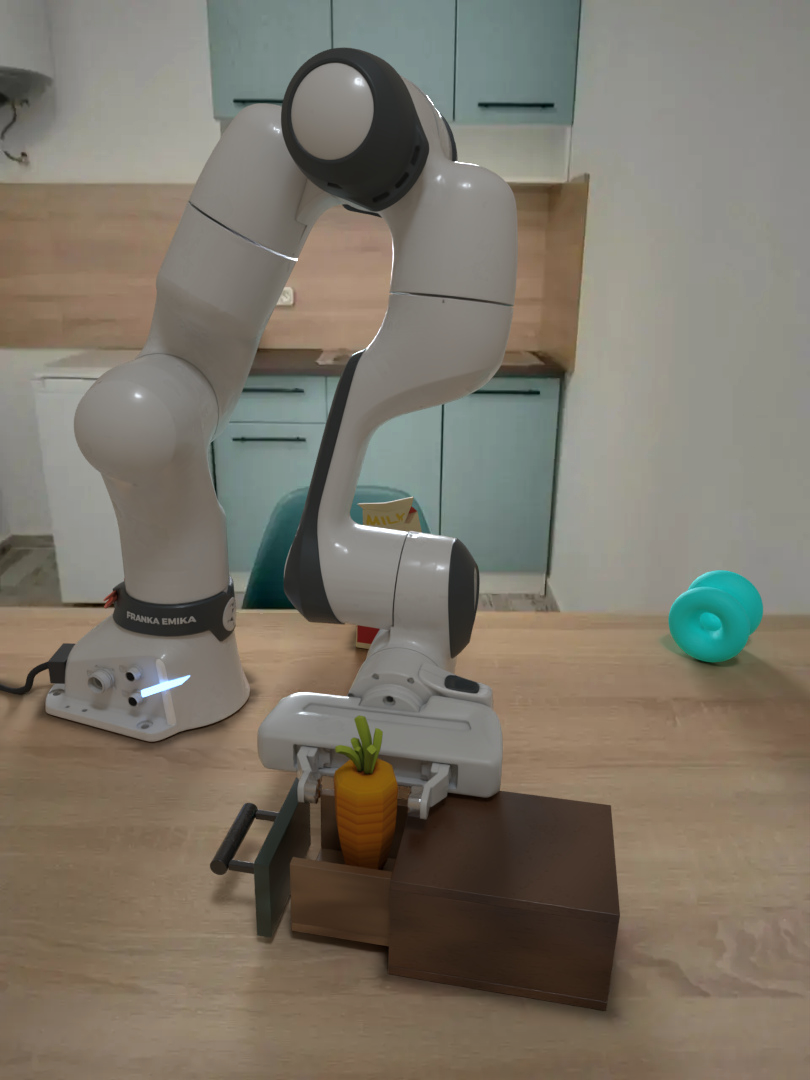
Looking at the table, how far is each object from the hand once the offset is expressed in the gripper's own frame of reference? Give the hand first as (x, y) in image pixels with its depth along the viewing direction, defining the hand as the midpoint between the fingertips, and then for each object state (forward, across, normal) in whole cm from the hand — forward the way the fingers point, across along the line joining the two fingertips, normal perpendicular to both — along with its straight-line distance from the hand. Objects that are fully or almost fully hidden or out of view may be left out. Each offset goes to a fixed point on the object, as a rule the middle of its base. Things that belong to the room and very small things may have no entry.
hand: (361, 803), depth 62 cm
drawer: (-1, -2, +10) cm, 10 cm away
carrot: (-1, 0, +9) cm, 9 cm away
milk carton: (-48, -7, +11) cm, 50 cm away
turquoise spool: (-54, +35, +11) cm, 65 cm away
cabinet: (-1, +11, +11) cm, 15 cm away
